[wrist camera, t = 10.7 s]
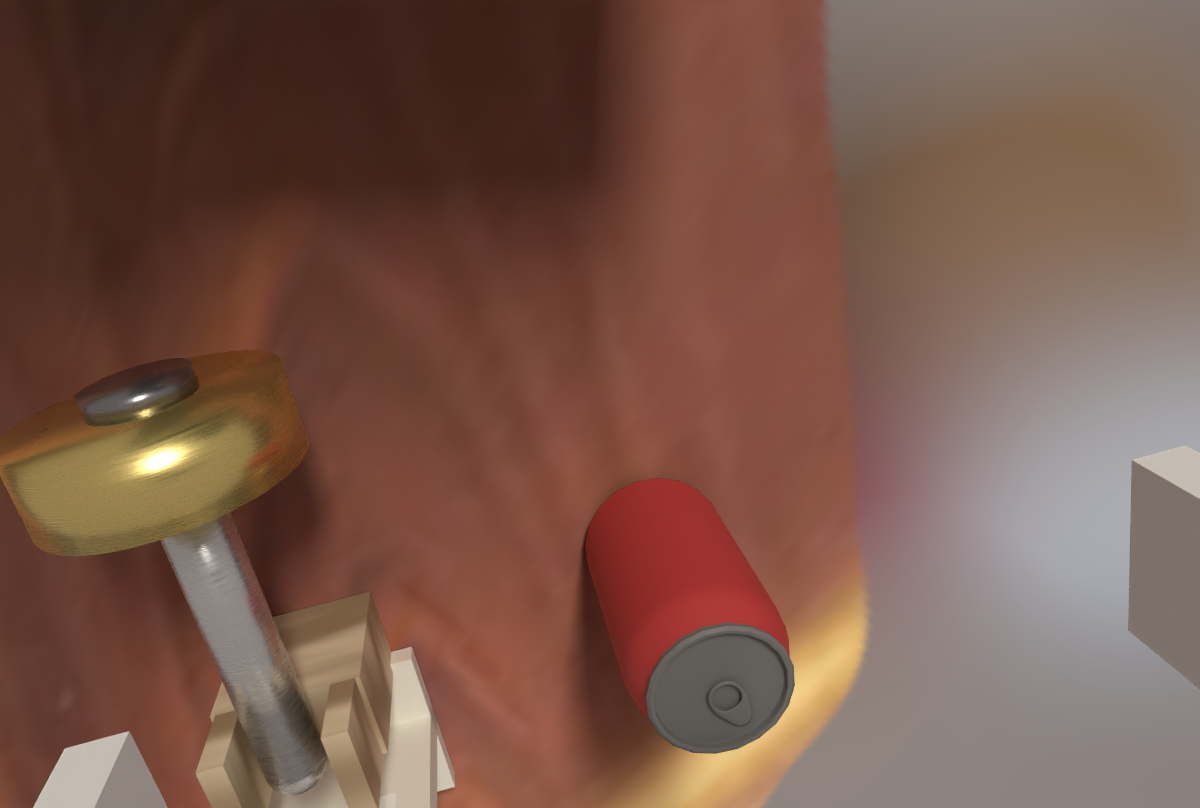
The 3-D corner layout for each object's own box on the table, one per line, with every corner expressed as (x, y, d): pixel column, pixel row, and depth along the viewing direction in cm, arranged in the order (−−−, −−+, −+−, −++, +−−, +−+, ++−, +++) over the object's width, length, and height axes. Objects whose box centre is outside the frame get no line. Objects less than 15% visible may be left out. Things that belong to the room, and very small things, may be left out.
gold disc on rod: (47, 369, 34) (-81, 471, 25) (291, 311, 34) (245, 391, 26) (216, 739, 40) (159, 915, 32) (418, 683, 41) (414, 842, 33)
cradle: (241, 625, 42) (189, 774, 34) (370, 591, 43) (353, 730, 34) (270, 694, 44) (228, 854, 35) (394, 660, 44) (384, 810, 36)
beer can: (631, 618, 46) (693, 796, 35) (555, 526, 43) (597, 686, 32) (741, 543, 45) (839, 700, 34) (671, 446, 43) (753, 580, 32)
